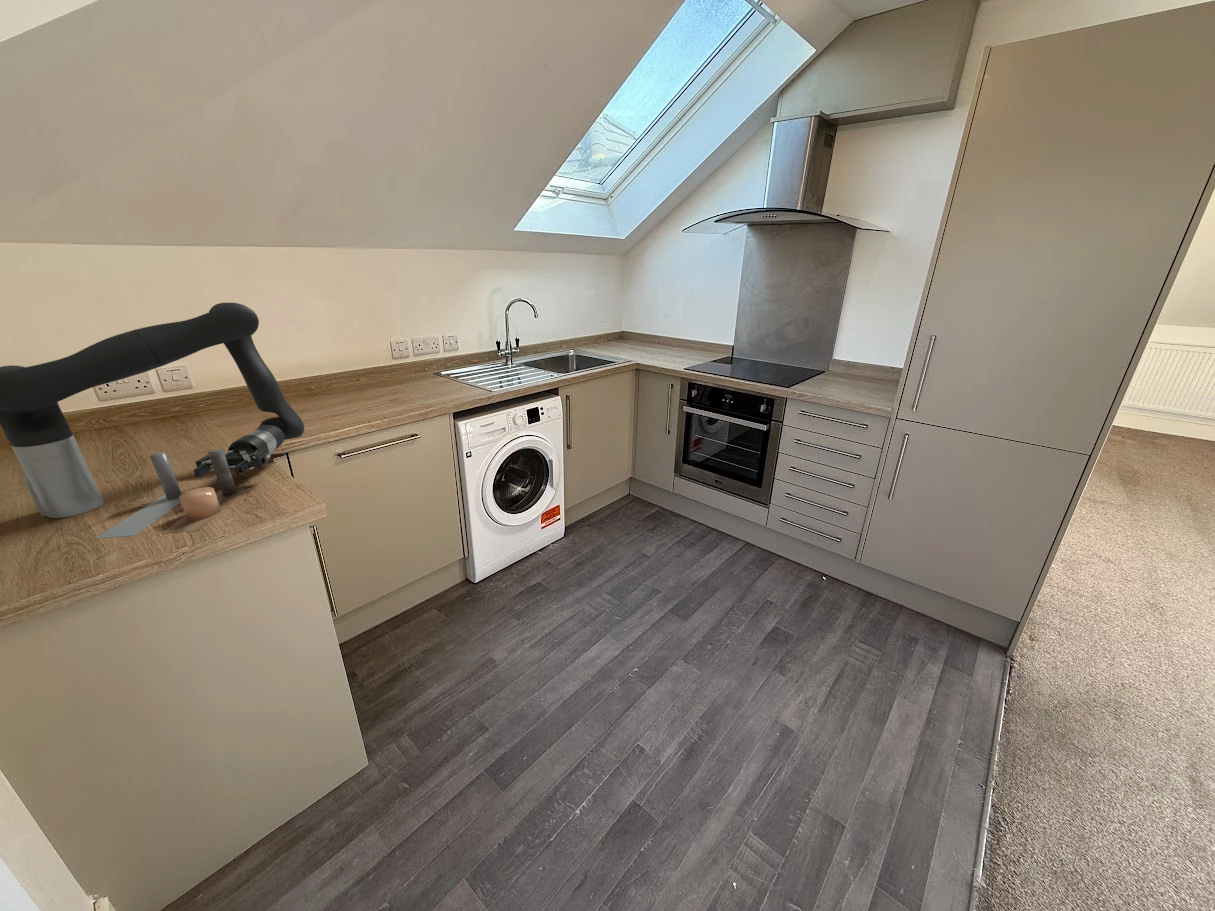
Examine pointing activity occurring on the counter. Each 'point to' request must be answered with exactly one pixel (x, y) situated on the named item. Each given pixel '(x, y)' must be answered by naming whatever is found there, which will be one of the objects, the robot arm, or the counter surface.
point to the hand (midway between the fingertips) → (217, 472)
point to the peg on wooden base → (223, 496)
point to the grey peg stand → (156, 507)
